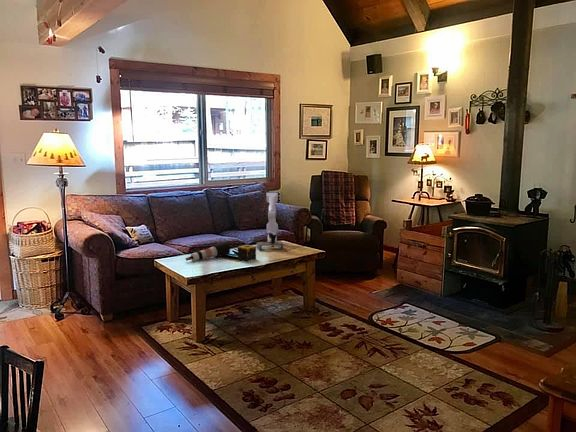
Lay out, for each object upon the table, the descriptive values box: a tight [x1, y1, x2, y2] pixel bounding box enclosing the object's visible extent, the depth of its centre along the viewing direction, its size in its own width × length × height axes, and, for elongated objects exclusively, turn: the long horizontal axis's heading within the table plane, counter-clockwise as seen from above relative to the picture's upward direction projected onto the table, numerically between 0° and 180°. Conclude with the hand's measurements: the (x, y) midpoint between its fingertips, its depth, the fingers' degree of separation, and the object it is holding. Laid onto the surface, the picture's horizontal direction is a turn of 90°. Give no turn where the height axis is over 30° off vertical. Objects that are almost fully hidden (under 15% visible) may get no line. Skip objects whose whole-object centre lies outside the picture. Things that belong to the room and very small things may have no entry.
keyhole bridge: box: [256, 240, 284, 252], centre depth 390 cm, size 10×20×5 cm, turn 106°
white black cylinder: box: [185, 241, 231, 262], centre depth 357 cm, size 10×34×10 cm, turn 128°
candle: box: [237, 244, 257, 262], centre depth 354 cm, size 10×10×10 cm
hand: (272, 242), depth 390 cm, fingers closed on peg, 4 cm apart
